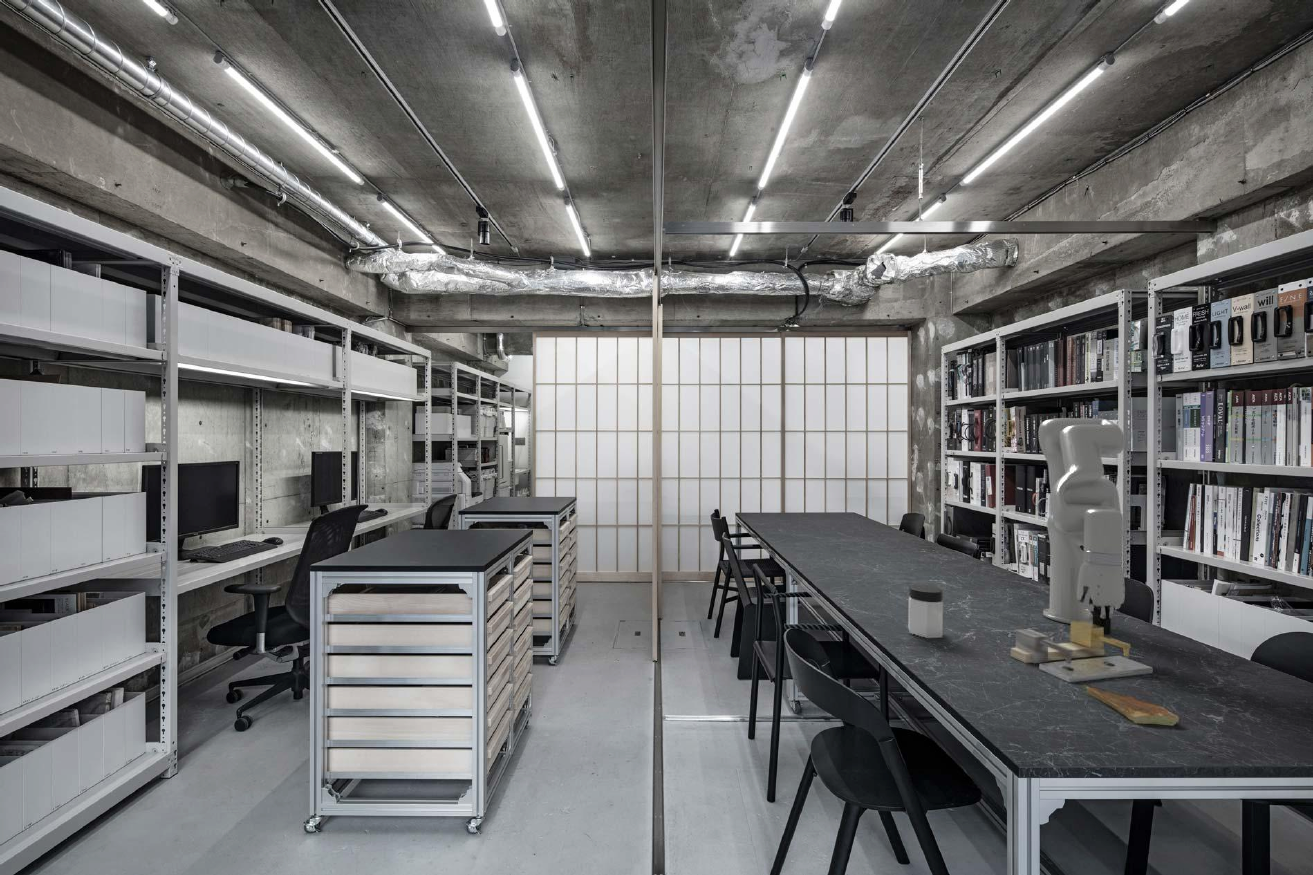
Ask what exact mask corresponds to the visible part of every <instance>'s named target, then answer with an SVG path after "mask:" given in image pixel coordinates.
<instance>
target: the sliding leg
mask: <svg viewBox="0 0 1313 875" xmlns="http://www.w3.org/2000/svg"><path fill="white" fill-rule="evenodd" d="M1070 642H1071V643H1072V642H1075V643H1077V644H1080V645H1083V646H1086V647H1088V648H1100V647H1104V642H1105V643H1108V644H1110V645H1113V646H1116V647H1119V648H1122V650H1123V651H1122V657H1125V658H1127V659H1129V658H1130V650H1131V644H1130V643H1128V642H1124V641H1121V640H1119V639H1115V638H1112V637H1110V636H1107V635H1104V627H1101V626H1098V625H1095V624H1092V623H1089V622H1086V621H1073V622H1071V624H1070Z"/></svg>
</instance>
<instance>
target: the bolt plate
mask: <svg viewBox="0 0 1313 875" xmlns="http://www.w3.org/2000/svg"><path fill="white" fill-rule="evenodd" d="M1038 664H1039V667H1038V668H1039V670H1040V671H1043V672H1045V673H1047V674H1049V675H1051V676H1053V677H1056V678H1059V679H1061V680H1063V681H1066V682H1068V683H1075V682H1084V681H1093V680H1101V679H1110V678H1111V679H1113V678H1119V677H1128V676H1129V677H1130V676H1139V675H1146V674H1153V673H1154V672H1153V671H1154V670H1153V667H1152V666H1149V665H1147V664H1144V663H1142V662H1141V663H1140V662H1138V661H1135V660H1132V659H1129V658H1126V657H1123V655H1113V656H1104V657H1102V656H1101V657H1093V658H1084V659H1074V660H1072V659H1071V664H1068V663H1066V660H1064V661H1056V662H1055V661H1054V662H1053V661H1052V662H1042V663H1038Z"/></svg>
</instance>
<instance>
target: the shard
mask: <svg viewBox="0 0 1313 875" xmlns="http://www.w3.org/2000/svg"><path fill="white" fill-rule="evenodd" d="M1084 687H1085V689H1086V693H1087V694H1088V695H1091V696H1092V697H1094V698H1095V699H1098V700H1099V701H1101V702H1102V703H1104V704H1106V705H1107V706H1109V707H1111V708H1113V709H1114V710H1115V711H1117V712H1118V713H1120V714H1121V715H1123V716H1124V717H1126V718H1127V719H1128V720H1130V721H1132V722H1133V723H1134V724H1144V725H1145V724H1147V725H1148V724H1149V725H1150V724H1152V725H1163V726H1172V727H1173V726H1175V725H1176V724H1177V723H1178V722H1179V720H1180V717H1179V716H1178V715H1176V714H1174V713H1172V712H1170V711H1169V710H1167V709H1165V707H1164V706H1162V705H1161V706H1160V705H1158V704H1156V703H1152V702H1148V701H1146V700H1141V699H1139V698H1136V697H1133V696H1132V697H1131V696H1128V695H1126V694H1122V693H1118V692H1114V691H1109V690H1106V689H1101V688H1098V687H1094V686H1090V685H1087V684H1084Z"/></svg>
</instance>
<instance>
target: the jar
mask: <svg viewBox="0 0 1313 875" xmlns="http://www.w3.org/2000/svg"><path fill="white" fill-rule="evenodd" d="M943 594H944V592H943V589H942V588H939V587H937V586H934V585H933V586H932V585H928V584H911V585H909V586H908V615H907V616H908V618H907V619H908V622H907V623H908V624H907V628H908V632H909V634H910V633H911V634H910V635H913V634H915V635H914V636H917V635H919V636H918V637H920V636H921V638H923V637H925V638H924V639H941V638H943V621H944V617H943V613H944V612H943V610H944V602H943V599H944V598H943Z"/></svg>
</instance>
